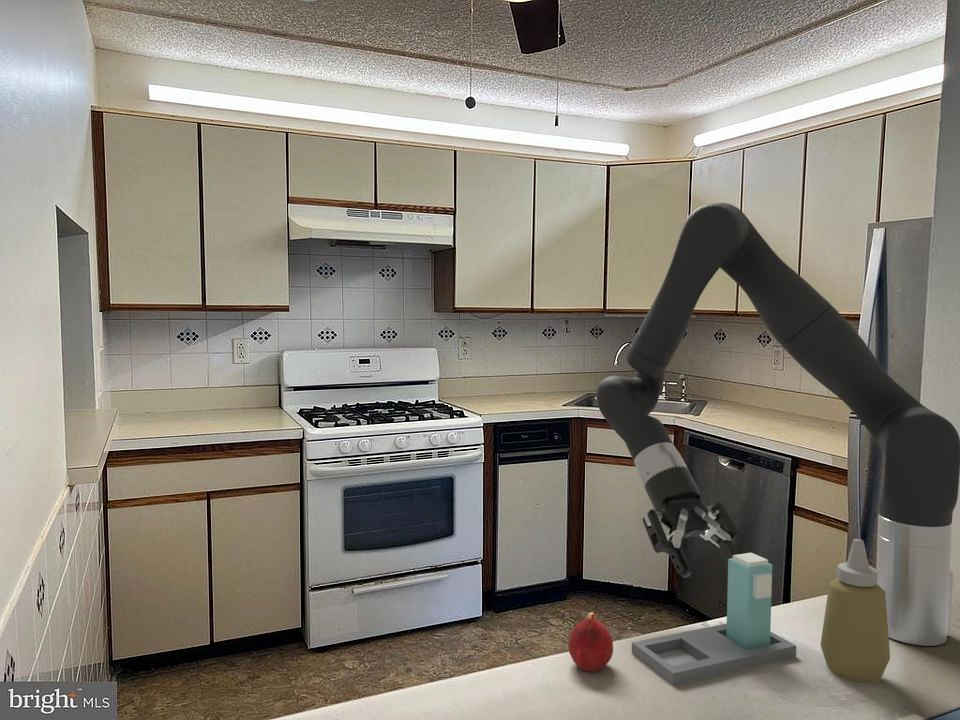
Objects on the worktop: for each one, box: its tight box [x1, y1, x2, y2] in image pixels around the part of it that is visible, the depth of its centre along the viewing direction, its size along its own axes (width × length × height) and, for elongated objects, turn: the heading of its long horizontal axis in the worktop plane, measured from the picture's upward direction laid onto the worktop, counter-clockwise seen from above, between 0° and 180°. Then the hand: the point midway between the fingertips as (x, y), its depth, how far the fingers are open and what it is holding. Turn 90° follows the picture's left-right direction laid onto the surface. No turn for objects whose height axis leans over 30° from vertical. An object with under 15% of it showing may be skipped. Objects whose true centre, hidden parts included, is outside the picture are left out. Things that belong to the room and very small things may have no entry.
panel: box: [631, 622, 797, 686], centre depth 97 cm, size 20×9×2 cm, turn 112°
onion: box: [568, 611, 614, 673], centre depth 93 cm, size 6×6×8 cm
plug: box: [726, 552, 773, 650], centre depth 98 cm, size 4×5×13 cm
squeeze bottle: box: [820, 538, 891, 684], centre depth 92 cm, size 8×8×18 cm
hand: (712, 571), depth 105 cm, fingers open, 8 cm apart
